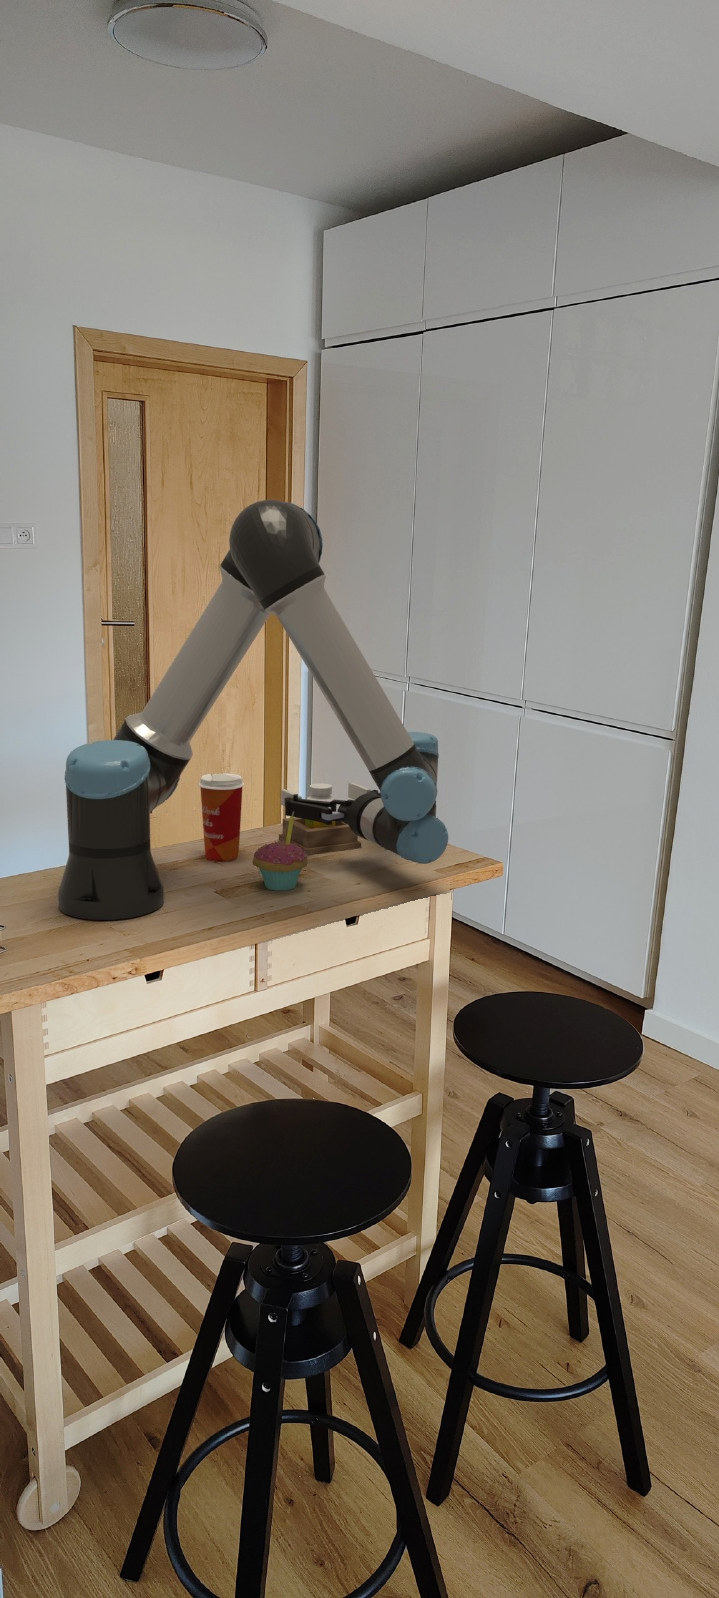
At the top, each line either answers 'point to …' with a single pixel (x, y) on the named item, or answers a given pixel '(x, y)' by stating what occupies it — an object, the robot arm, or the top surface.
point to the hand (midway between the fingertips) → (316, 793)
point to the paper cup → (221, 815)
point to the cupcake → (280, 862)
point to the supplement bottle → (320, 794)
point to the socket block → (320, 837)
